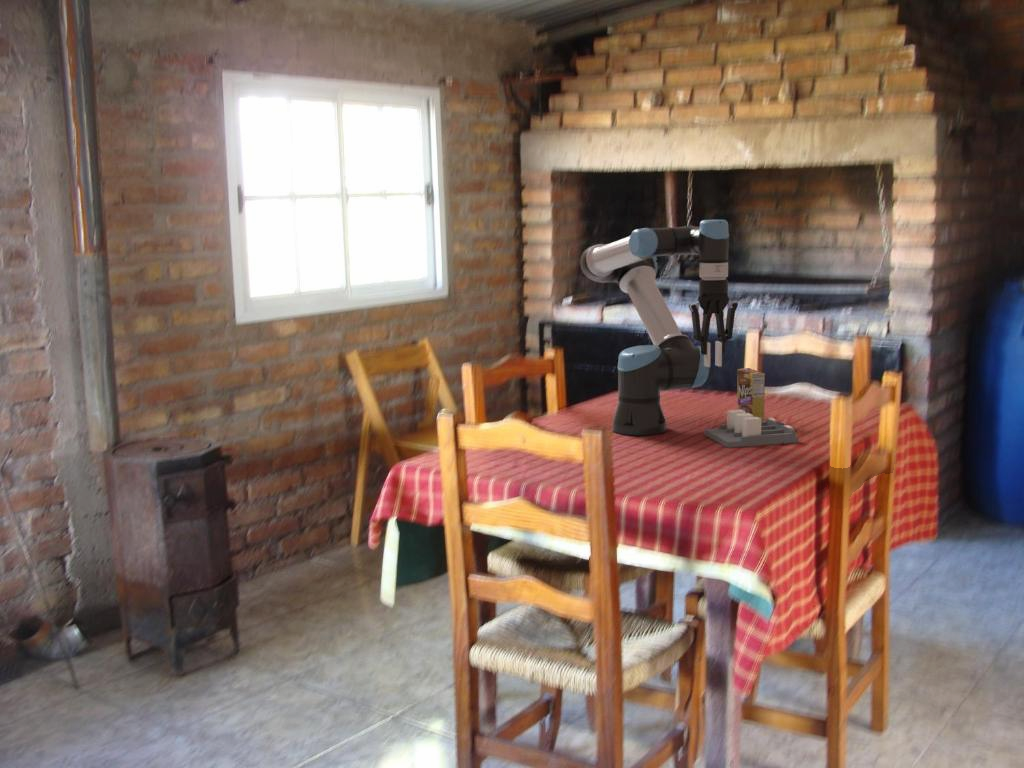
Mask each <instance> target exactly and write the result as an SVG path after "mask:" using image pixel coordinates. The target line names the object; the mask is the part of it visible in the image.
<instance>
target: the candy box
mask: <svg viewBox="0 0 1024 768" xmlns="http://www.w3.org/2000/svg"><path fill="white" fill-rule="evenodd" d="M736 372H737V374H736V376H737V388H736V389H737V403H736V404H737V410H740V409H741V410H743V411H745V412H746V413H750V414H752V415H753V417H758V418H760V419H761V422H765V393H766V392H765V386H766V385H765V384H766V383H765V378H766V377H765V375H766V374H765V372H761V371H759V370H755V369H754V368H753V369H752V368H749V367H746V368H739V369H737V371H736Z"/></svg>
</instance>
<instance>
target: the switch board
mask: <svg viewBox="0 0 1024 768" xmlns="http://www.w3.org/2000/svg"><path fill="white" fill-rule="evenodd" d="M704 436H706V437H708V438H710V439H711V440H713V441H715V442H717V443H719V444H721V445H722V446H724V447H726V448H728V449H729V448H740V447H754V446H769V445H770V444H771V445H779V444H780V445H781V444H782V443H784V444H795V443H799V441H800V439H799V438H800V437H799V436H798V435H796V429H795V428H793V426H791V425H788V424H787V425H786V424H785V423H784V422H783V421H779V420H778V421H777V419H775V418H773V417H765V421H764V422H761V435H756V436H742V432H735V428H727V424H725V423H723V424H718V425H717V427H716V428H704ZM782 445H783V444H782Z"/></svg>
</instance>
